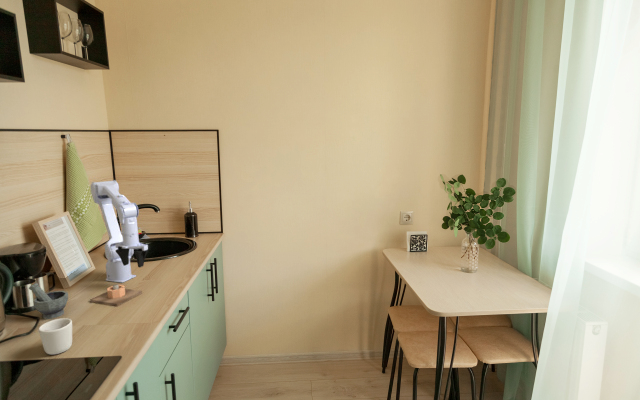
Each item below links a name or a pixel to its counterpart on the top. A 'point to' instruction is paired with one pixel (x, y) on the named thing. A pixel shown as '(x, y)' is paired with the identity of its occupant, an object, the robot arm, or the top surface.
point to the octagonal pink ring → (116, 292)
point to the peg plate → (116, 301)
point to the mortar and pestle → (49, 302)
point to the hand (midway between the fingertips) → (133, 265)
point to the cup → (56, 335)
